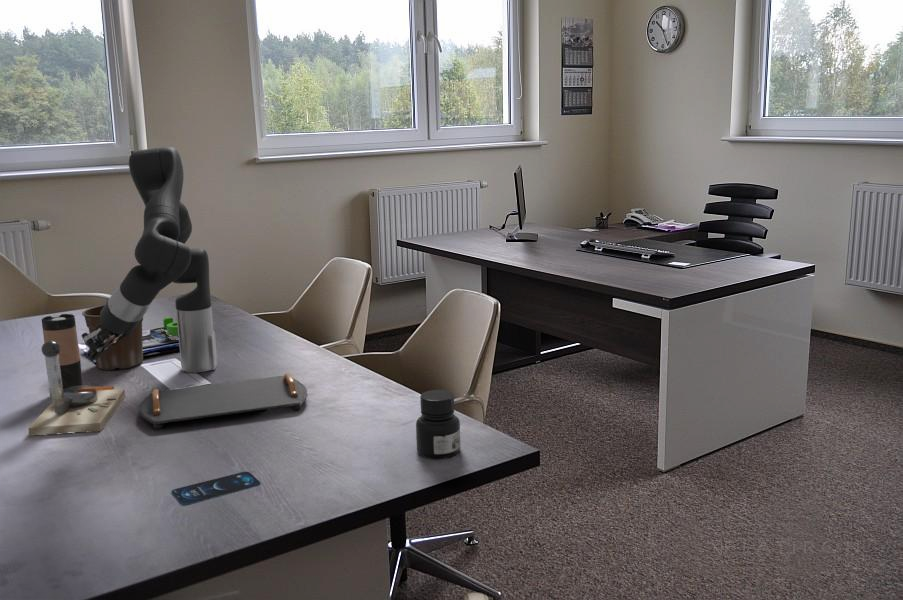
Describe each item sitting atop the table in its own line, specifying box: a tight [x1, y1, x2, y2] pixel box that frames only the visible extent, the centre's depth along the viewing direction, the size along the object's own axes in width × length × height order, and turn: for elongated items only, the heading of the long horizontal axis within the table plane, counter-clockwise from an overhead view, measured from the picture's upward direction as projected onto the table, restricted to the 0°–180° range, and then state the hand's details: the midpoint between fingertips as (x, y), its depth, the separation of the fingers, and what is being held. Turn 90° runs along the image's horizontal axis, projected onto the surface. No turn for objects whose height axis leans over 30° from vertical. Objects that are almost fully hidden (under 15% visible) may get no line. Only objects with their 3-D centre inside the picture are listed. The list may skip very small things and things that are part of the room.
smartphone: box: [171, 471, 262, 506], centre depth 157 cm, size 8×1×15 cm
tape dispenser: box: [162, 315, 178, 336], centre depth 268 cm, size 15×7×5 cm, turn 26°
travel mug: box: [41, 313, 83, 389], centre depth 210 cm, size 8×8×20 cm
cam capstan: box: [41, 341, 115, 414], centre depth 196 cm, size 13×15×17 cm
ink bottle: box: [415, 389, 461, 459], centre depth 170 cm, size 10×9×12 cm
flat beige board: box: [27, 388, 126, 437], centre depth 197 cm, size 15×24×2 cm, turn 9°
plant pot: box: [81, 304, 144, 371], centre depth 236 cm, size 16×16×16 cm
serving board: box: [138, 372, 309, 431], centre depth 200 cm, size 39×23×6 cm, turn 110°
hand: (91, 357), depth 183 cm, fingers closed
